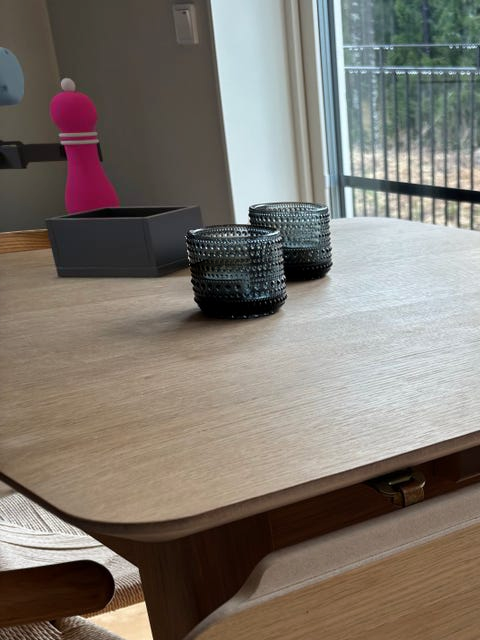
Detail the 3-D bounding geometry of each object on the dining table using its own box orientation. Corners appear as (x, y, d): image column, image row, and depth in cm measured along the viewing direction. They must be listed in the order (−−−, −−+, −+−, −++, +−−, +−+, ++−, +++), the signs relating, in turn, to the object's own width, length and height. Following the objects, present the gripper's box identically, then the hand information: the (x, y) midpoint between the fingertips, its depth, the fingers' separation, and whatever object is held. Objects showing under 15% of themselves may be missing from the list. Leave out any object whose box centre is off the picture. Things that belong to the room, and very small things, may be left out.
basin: (57, 276, 110) (44, 219, 107) (116, 260, 120) (105, 207, 117) (158, 277, 107) (147, 218, 104) (208, 259, 118) (200, 205, 115)
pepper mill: (62, 241, 139) (25, 79, 129) (94, 234, 145) (62, 79, 135) (104, 241, 137) (70, 77, 127) (136, 234, 143) (106, 77, 133)
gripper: (37, 176, 158) (133, 176, 149) (-107, 190, 139) (-6, 192, 130) (24, 123, 154) (122, 120, 145) (-124, 131, 135) (-22, 128, 126)
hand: (62, 154), depth 137 cm, fingers open, 13 cm apart
